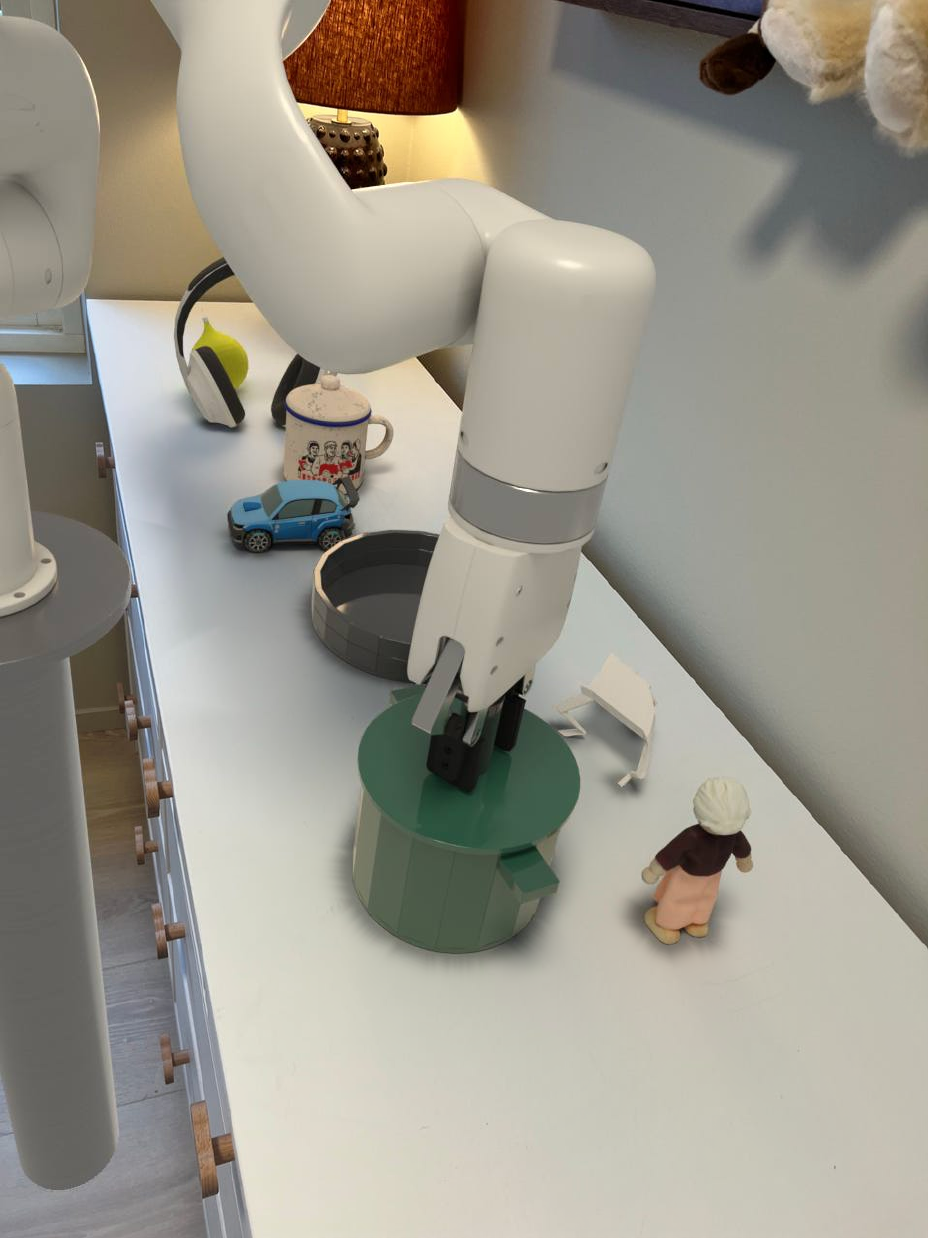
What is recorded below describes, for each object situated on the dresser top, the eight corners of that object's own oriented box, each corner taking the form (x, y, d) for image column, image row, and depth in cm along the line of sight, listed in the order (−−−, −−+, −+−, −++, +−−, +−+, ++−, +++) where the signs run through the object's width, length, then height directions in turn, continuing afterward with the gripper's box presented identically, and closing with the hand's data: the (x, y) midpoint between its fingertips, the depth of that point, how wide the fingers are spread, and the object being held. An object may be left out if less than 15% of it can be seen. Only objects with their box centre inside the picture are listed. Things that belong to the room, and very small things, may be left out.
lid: (413, 890, 52) (429, 803, 48) (323, 727, 61) (330, 643, 57) (619, 826, 58) (648, 744, 54) (508, 686, 67) (526, 608, 64)
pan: (358, 702, 77) (362, 662, 75) (283, 579, 90) (285, 542, 88) (550, 661, 86) (559, 625, 83) (457, 554, 98) (462, 520, 96)
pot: (419, 1019, 55) (441, 912, 50) (310, 801, 68) (319, 696, 63) (599, 951, 61) (637, 848, 56) (468, 761, 74) (489, 662, 68)
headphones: (180, 439, 110) (176, 258, 98) (171, 408, 116) (167, 234, 105) (345, 437, 117) (360, 267, 105) (329, 408, 123) (341, 245, 112)
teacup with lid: (291, 500, 102) (296, 395, 96) (273, 460, 109) (277, 360, 102) (399, 495, 107) (412, 395, 100) (376, 457, 113) (386, 361, 107)
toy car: (225, 524, 96) (225, 472, 93) (344, 520, 100) (348, 471, 97) (232, 555, 92) (233, 502, 89) (356, 551, 96) (361, 500, 93)
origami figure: (529, 705, 80) (540, 658, 77) (614, 690, 83) (628, 644, 81) (602, 809, 71) (618, 760, 69) (694, 787, 75) (712, 740, 72)
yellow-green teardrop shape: (186, 379, 124) (185, 300, 118) (242, 379, 126) (244, 302, 121) (193, 402, 118) (192, 321, 113) (252, 401, 121) (254, 322, 115)
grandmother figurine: (696, 885, 67) (754, 749, 60) (733, 928, 64) (798, 791, 57) (606, 919, 63) (657, 779, 56) (641, 967, 61) (699, 826, 53)
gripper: (541, 420, 56) (489, 669, 66) (364, 518, 44) (335, 806, 54) (659, 466, 53) (586, 719, 63) (506, 585, 41) (446, 874, 51)
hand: (471, 756), depth 59 cm, fingers open, 3 cm apart
